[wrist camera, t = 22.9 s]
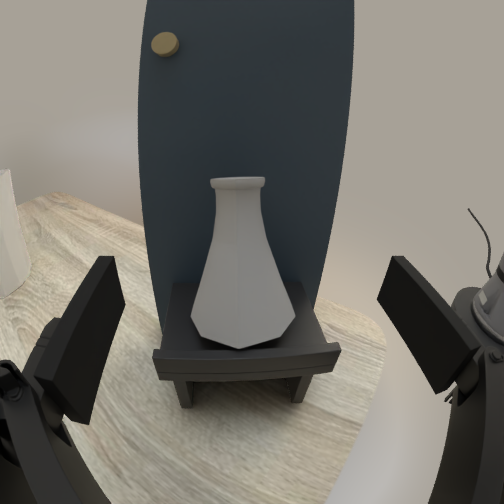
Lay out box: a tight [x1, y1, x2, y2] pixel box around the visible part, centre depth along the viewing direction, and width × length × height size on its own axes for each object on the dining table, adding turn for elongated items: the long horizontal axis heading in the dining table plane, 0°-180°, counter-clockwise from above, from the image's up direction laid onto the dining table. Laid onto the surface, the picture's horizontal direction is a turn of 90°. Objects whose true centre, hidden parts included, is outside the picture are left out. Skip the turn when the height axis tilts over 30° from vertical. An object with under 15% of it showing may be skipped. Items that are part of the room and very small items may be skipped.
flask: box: [191, 177, 295, 349], centre depth 18 cm, size 7×7×10 cm
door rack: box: [138, 0, 354, 408], centre depth 17 cm, size 14×16×36 cm
